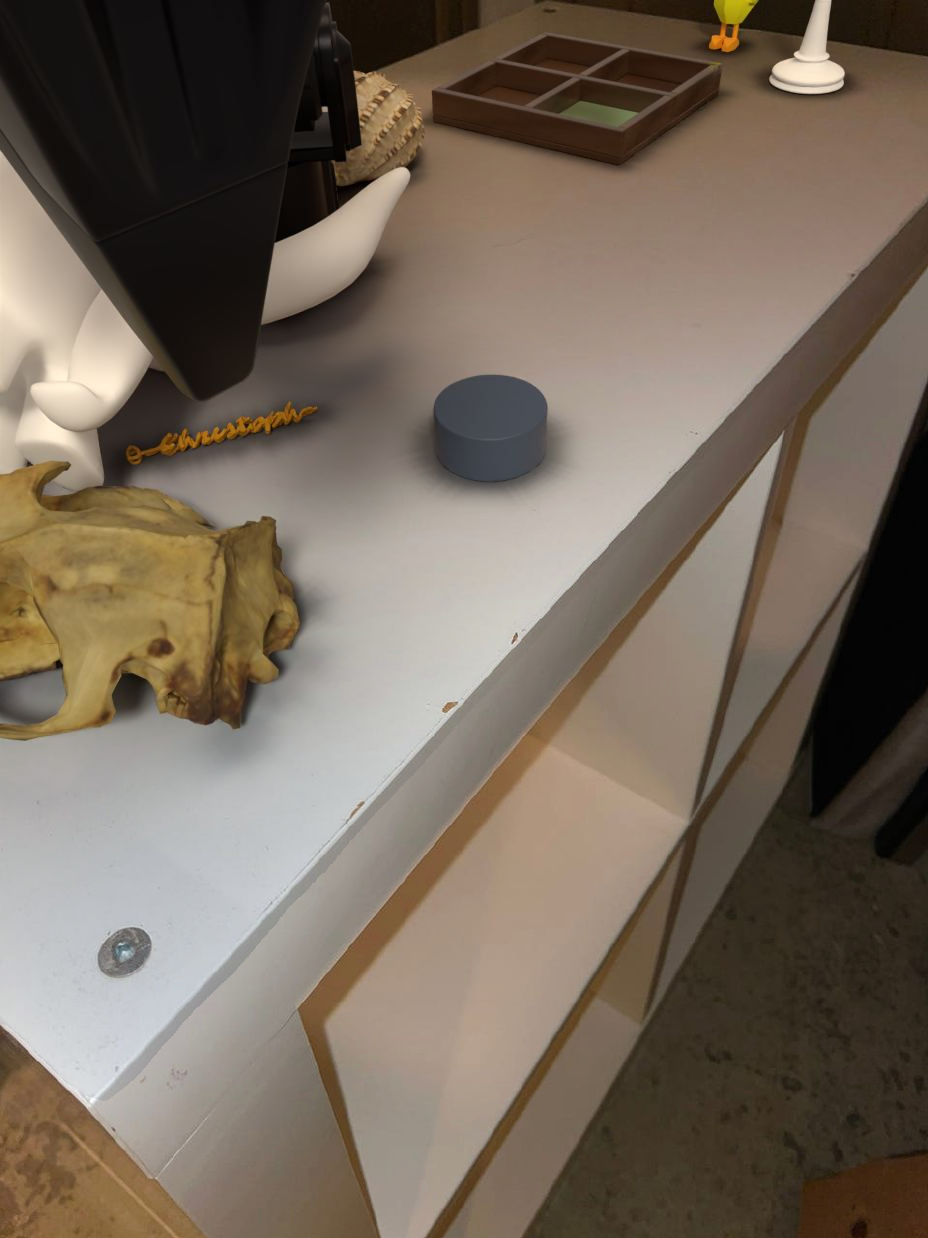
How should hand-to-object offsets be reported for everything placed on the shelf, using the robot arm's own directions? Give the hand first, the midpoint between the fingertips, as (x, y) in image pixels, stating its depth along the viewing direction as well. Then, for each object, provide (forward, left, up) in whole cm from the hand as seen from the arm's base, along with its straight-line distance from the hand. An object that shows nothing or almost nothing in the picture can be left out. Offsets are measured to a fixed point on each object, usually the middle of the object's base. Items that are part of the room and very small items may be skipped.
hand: (59, 289), depth 17 cm
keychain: (+11, +12, -15) cm, 23 cm away
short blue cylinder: (+17, +3, -15) cm, 23 cm away
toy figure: (+67, +16, -15) cm, 71 cm away
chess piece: (+63, +8, -15) cm, 65 cm away
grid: (+51, +19, -15) cm, 56 cm away
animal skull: (+3, +6, -18) cm, 19 cm away
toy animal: (+4, +15, -12) cm, 20 cm away
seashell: (+34, +24, -15) cm, 44 cm away
